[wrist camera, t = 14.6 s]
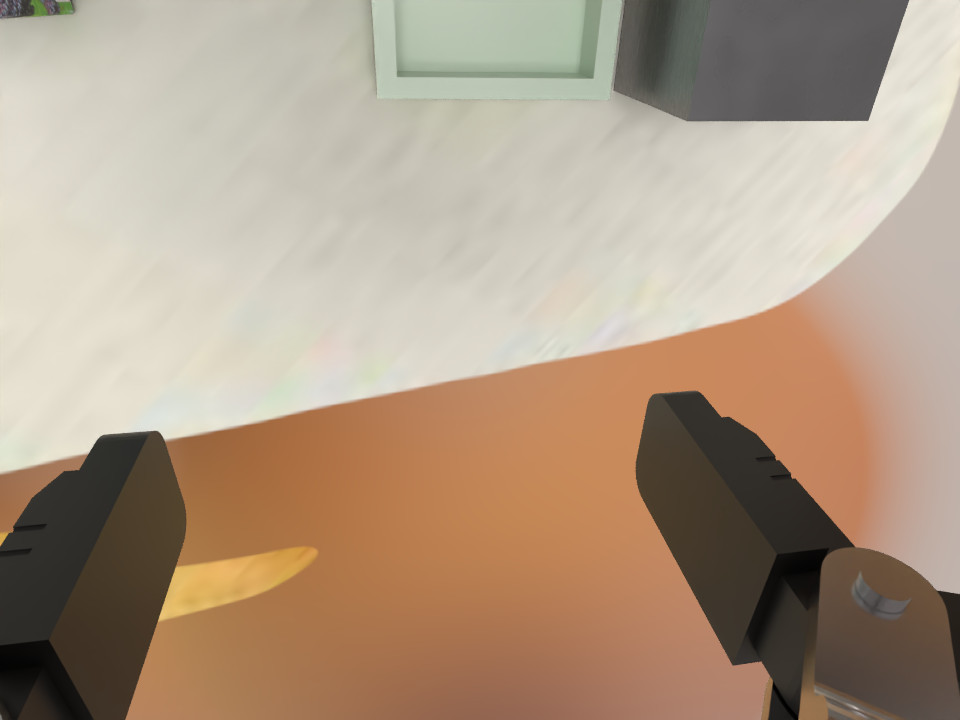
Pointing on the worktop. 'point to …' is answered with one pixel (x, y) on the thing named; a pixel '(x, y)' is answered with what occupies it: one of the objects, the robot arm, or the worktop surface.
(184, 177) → the worktop surface
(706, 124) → the worktop surface
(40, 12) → the syrup box
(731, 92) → the box
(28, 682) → the robot arm
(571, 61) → the tray
